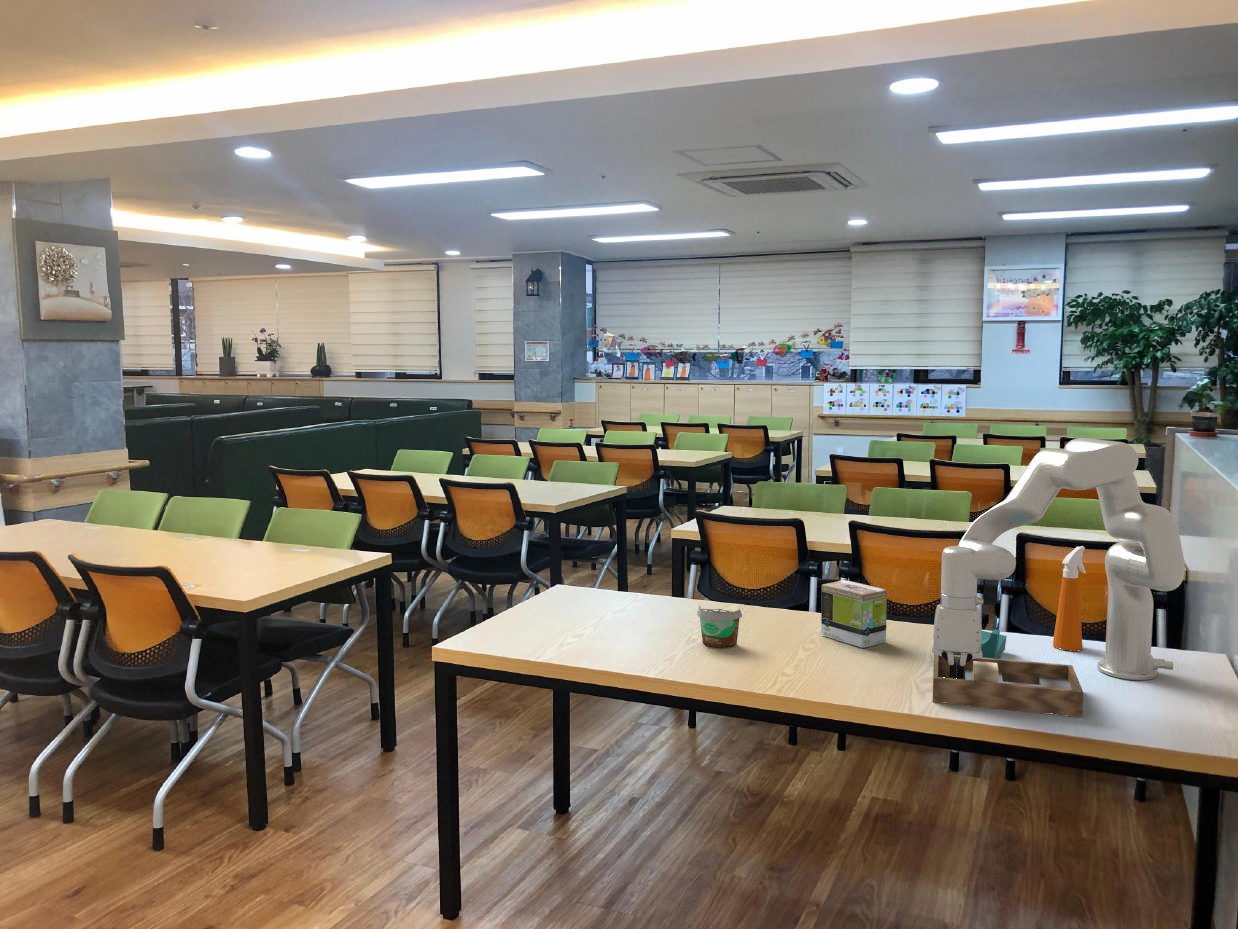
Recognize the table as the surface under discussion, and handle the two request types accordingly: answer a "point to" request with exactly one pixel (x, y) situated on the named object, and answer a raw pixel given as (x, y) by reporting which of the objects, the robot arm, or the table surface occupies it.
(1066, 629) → the spray bottle
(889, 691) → the table surface
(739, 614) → the food container
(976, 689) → the box
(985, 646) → the teal l-shaped bracket
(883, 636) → the tea box
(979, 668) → the block
